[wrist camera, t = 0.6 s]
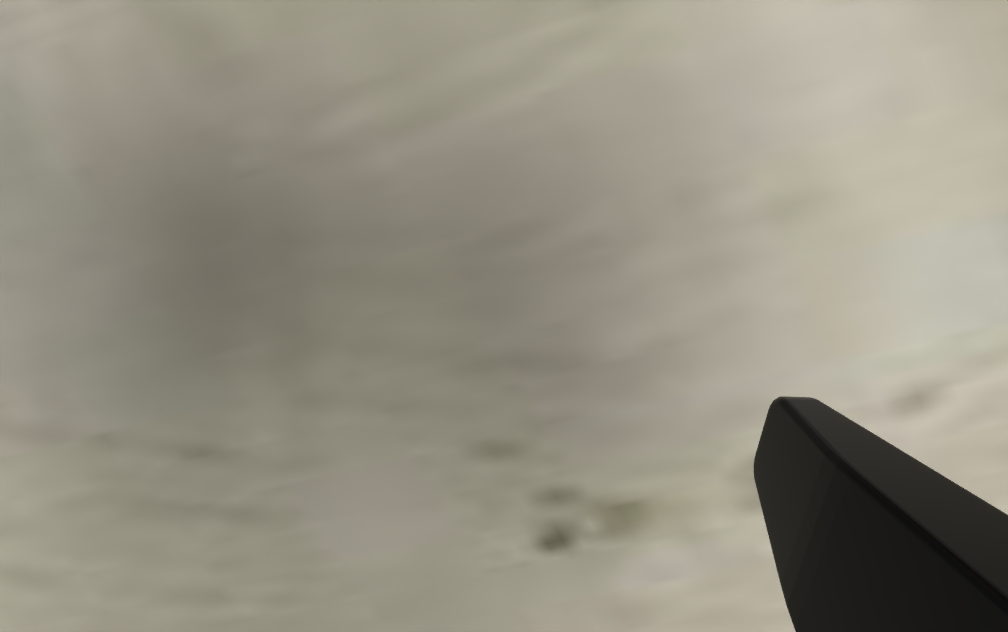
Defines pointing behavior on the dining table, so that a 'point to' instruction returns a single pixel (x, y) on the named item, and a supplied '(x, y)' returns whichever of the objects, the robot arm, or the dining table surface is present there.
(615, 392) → the dining table surface
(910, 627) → the robot arm
